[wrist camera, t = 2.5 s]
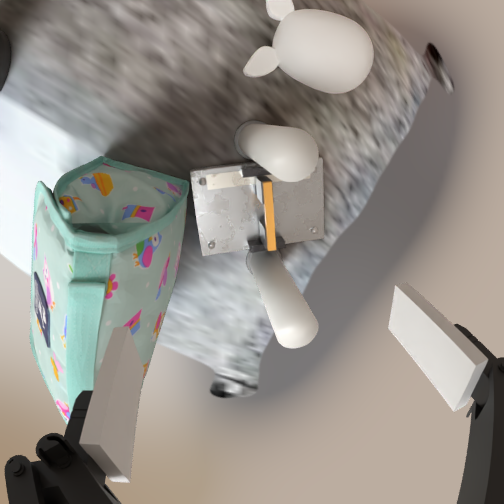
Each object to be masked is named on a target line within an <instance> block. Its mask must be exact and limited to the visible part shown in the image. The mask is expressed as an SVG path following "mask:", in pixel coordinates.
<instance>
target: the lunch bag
mask: <svg viewBox="0 0 504 504" xmlns="http://www.w3.org/2000/svg"><path fill="white" fill-rule="evenodd" d="M189 185H190V182H188V181H187V180H183V179H179V178H176V177H173V176H170V175H166V174H163V173H159V172H156V171H153V170H149V169H144V168H140V167H136V166H133V165H130V164H127V163H123V162H119V161H114V160H112V159H110V158H106V157H104V156H100V157H98V158H96V159H94V160H93V161H91V162H89V163H87V164H85V165H82V166H80V167H78V168H75V169H73V170H71V171H69V172H67V173H66V174H64V175H63V176H62V177H61V178H60V179H59V180H58V181H57V183H56V185H55V188H54V191H53V193H52V190H51V189H49V188H48V187H46V185H45V184H44V183H43V182H42V181H38V183H37V186H36V191H35V200H34V215H33V230H32V274H31V308H30V312H31V328H30V344H31V348H32V352H33V355H34V357H35V359H36V362H37V364H38V367H39V369H40V372H41V374H42V376H43V379H44V381H45V383H46V385H47V387H48V389H49V391H50V393H51V395H52V397H53V399H54V401H55V403H56V405H57V407H58V409H59V411H60V413H61V415H62V417H63V419H64V421H65V422H66V424H67V425H68V421H69V419H70V415H71V412H72V411H73V409H72V408H73V405H74V402H75V399H76V398H77V397H78V395H79V394H80V393H81V392H82V390H94V386H95V383H96V380H97V377H98V373H99V370H100V367H101V364H102V361H103V358H104V355H105V352H106V349H107V346H108V343H109V340H110V337H111V334H112V331H113V329H114V328H115V327H126V326H129V329H130V331H131V334H132V337H133V340H134V343H135V346H136V348H137V351H138V354H139V356H140V359H141V362H142V364H143V367H144V375H143V380H144V378H145V376H146V374H147V371H148V368H149V364H150V361H151V358H152V354H153V351H154V348H155V345H156V341H157V338H158V335H159V332H160V329H161V326H162V323H163V320H164V317H165V313H166V310H167V307H168V304H169V301H170V298H171V294H172V291H173V287H174V284H175V280H176V276H177V271H178V266H179V261H180V255H181V249H182V242H183V235H184V228H185V221H186V212H187V195H188V192H189ZM142 385H143V381H142ZM141 389H142V388H141Z"/></svg>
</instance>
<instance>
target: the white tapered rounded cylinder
mask: <svg viewBox="0 0 504 504" xmlns="http://www.w3.org/2000/svg"><path fill="white" fill-rule="evenodd" d="M246 264H247V267H248V270H249V271H250V273H251V274H253V276H254V278H255V281H256V284H257V286H258V289H259V292H260V295H261V297H262V300H263V303H264V305H265V308H266V311H267V313H268V316H269V319H270V321H271V324H272V327H273V329H274V332H275V335H276V337H277V340H278V342H279V343H280V344H281V345H282V346H284V347H287V348H299V347H302V346H304V345H306V344H308V343H309V342H311V341H312V340H313V339H314V337H315V336H316V334H317V332H318V322H317V320H316V318H315V317H314V315H313V313H312V312H311V310H310V308H309V306H308V305H307V303H306V301H305V300H304V298H303V296H302V294H301V293H300V291H299V289H298V287H297V286H296V284H295V282H294V281H293V279H292V277H291V276H290V274H289V272H288V270H287V269H286V267H285V265H284V264H283V262H282V256H281V253H280V252H279V250H278V249H276V250H273V251H261V252H254V253H250V252H249V253H248V255H247V258H246Z"/></svg>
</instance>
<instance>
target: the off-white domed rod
mask: <svg viewBox="0 0 504 504" xmlns="http://www.w3.org/2000/svg"><path fill="white" fill-rule="evenodd" d="M234 144H235V147H236V149H237V151H238V152H239V153H240V154H241V155H242V156H243V157H245V158H247V159H250V160H254V161H255V162H256V163H258V164H259V165H260V166H262V167H263V168H265V169H266V170H267V171H269V172H270V173H271V174H273V175H274V176H275V177H277V178H278V179H280V180H282V181H286V182H297V181H300V180H303V179H305V178H306V177H308V176H309V175H310V174H311V173H312V172H313V170H314V169H315V167H316V165H317V162H318V157H319V152H318V147H317V144H316V142H315V140H314V139H313V137H312V136H311V135H310V134H309V133H307V132H306V131H304V130H302V129H299V128H293V127H284V126H275V125H267V124H265V123H263V122H260V121H249V122H246V123H244V124H242V125H241V126H240V127H239V128H238V129H237V131H236V133H235V137H234Z"/></svg>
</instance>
